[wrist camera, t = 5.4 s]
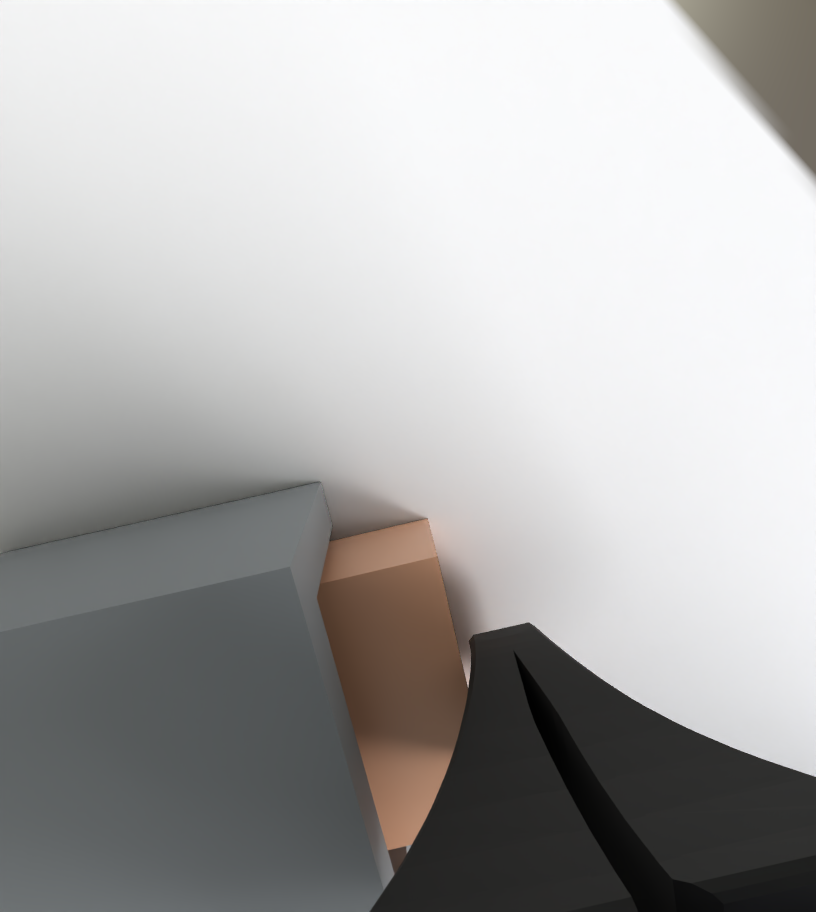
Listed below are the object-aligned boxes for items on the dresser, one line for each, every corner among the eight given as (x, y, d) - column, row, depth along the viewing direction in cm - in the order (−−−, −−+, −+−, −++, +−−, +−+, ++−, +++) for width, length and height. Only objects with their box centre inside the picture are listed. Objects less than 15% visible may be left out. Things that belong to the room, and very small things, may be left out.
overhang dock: (320, 481, 11) (289, 566, 7) (412, 825, 14) (426, 1039, 9) (0, 553, 11) (-209, 678, 7) (141, 886, 14) (39, 1128, 9)
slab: (426, 513, 12) (437, 556, 10) (478, 739, 14) (499, 824, 11) (73, 595, 12) (0, 657, 10) (161, 813, 14) (115, 913, 11)
